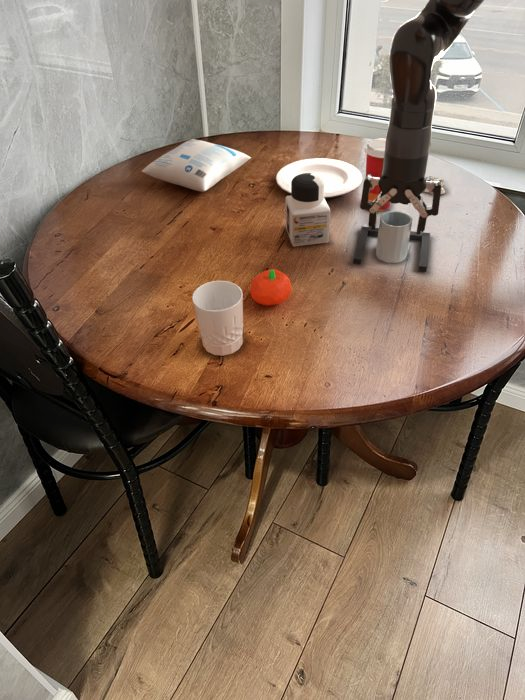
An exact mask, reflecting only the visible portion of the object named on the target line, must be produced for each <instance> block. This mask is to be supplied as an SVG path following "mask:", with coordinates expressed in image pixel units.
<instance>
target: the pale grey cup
mask: <svg viewBox="0 0 525 700" xmlns="http://www.w3.org/2000/svg"><path fill="white" fill-rule="evenodd" d="M413 220H414V219H413V217H412V216H411V215H410V214H409V213H407V212H404V211H401V210H400V211H399V210H390V211H386V212H383V213H382V214H381V215H380V217H379V223H378V228H379V231H378V237H377V240H376V248H375V256H376V257H377V259H378V260H380V261H382V262H385V263H389V264H391V263H392V264H396V263H401V262H403V261H405V259H406V258H407V255H408V250H409V249H408V248H409V244H410V240H409V238H410V232H411V231H412V225H413Z"/></svg>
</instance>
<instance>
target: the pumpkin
mask: <svg viewBox="0 0 525 700" xmlns="http://www.w3.org/2000/svg"><path fill="white" fill-rule="evenodd" d="M249 294H250V296H251V298H252V300H253V301H254V302H256V303H257V304H259V305H261V306H262V305H263V306H275V305H278V304H281V303H284V302H285V301H286V300H287V299H288V298H289V297H290V295H291V294H292V284H291V279H290V278H289V277H288V275H287V274H286V273H284V272H282V271H281V270H278V269H276V268H271V269H267V270H265V271H263V272H261V273H259V274H258V275H256V276H254V277H253V278H252V280H251V282H250V286H249Z"/></svg>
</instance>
